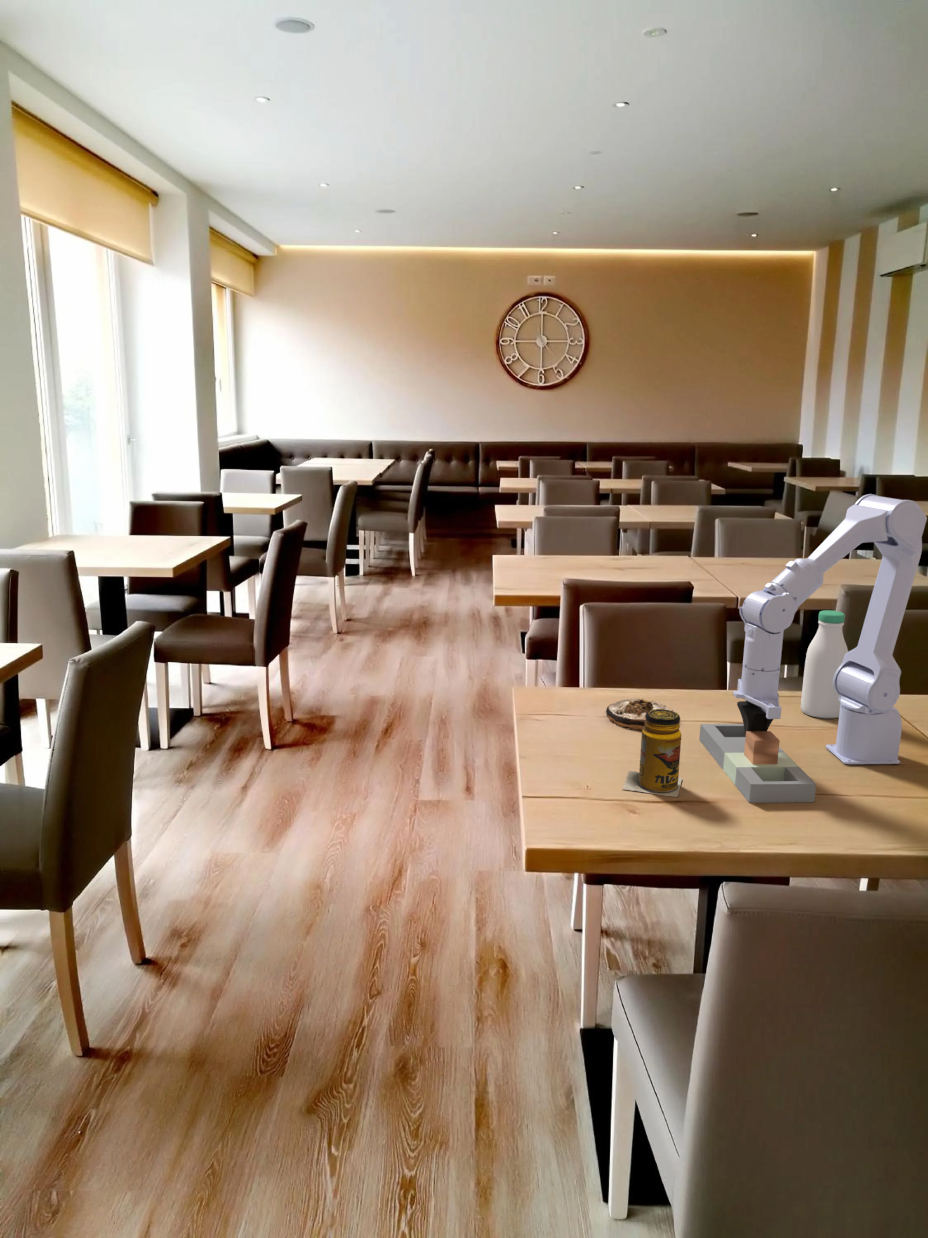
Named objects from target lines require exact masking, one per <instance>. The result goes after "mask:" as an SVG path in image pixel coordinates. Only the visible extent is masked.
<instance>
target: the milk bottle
mask: <svg viewBox="0 0 928 1238" xmlns="http://www.w3.org/2000/svg"><path fill="white" fill-rule="evenodd" d="M845 618H846V614H845V613H843V612H841V611H837V610H829V609H828V610H827V609H826V610H821V611H819V613H818V622H817V623H818V628H817V630H816V633H815V635H814V637H813V639H812V640H811V642H810V643H809V645H808V648H807V651H806V653H805V655H806V657H805V661H804V668H803V669H804V671H803V679H802V680H803V682H802V689H801V701H800V710H801V712H802V713H803V714H805V715H807V716H811V717H814V718H818V719H827V720H828V719H837V718H838V719H839V713H840V704H841V702H840V701H839V700H838V699H839V694H838V693H837V692H836V691H835V689H834V687H833V678H834V675H835V672H836V671H837V669H838V668H839V667H840V665H841V664H842V662H843V659H844V655H845V654H846V653H847V652H849V649H848V646H847V643H846V641H845V638H844V633H843V626H844V625H845Z"/></svg>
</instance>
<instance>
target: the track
mask: <svg viewBox="0 0 928 1238" xmlns="http://www.w3.org/2000/svg"><path fill="white" fill-rule="evenodd" d="M699 742H700V743H701V744H702V745H703V746H704V748H705V749H706V751H708V753H709V754H710V756H711V757H712V758H713V759H714V760H715V761H716V763H717V765H719V767H720V768H721V770H723V772H724V773H725V774H726V776H727V777H728V778H729V779H730V781H731V782H732V783H733V784H734V785H735V787H736V788H737V789H738V791H739V792H740V793H741V795H742V796H743V797H744V798H745V800H746V801H747V802H748V803H749V804H753V803H754V804H756V803H758V804H759V803H760V804H761V803H770V804H771V803H773V804H774V803H815V798H816V788H817V783H816V782H815V781H814V780H813V779H812V778H811V777H810V776H809V774H807V773H806V772H805V771H804V770H803V769H802V768H801V767H800V766H799V765H798V764H797V763H796V762H795V761H794V760H793V759H792V758H791V757H790V756H789V755H788V754H787V753H786V752H785V751H784V750H783V749H782V748H781V747H780V746H779V752H778V762H777V764H752V763H751V762H750V761H749V760H748V759H747V757H746V756H745V755H744V749H745V730H744V724H743V723H700V729H699Z"/></svg>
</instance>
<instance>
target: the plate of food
mask: <svg viewBox="0 0 928 1238" xmlns="http://www.w3.org/2000/svg"><path fill="white" fill-rule="evenodd" d="M654 709H666V710H671V711H673V712H674V710H673V709H671V708H669V707H667V706H666V705H665V704H663V703H660V702H657V701H654V700H651V701H650V700H646V699H644V698H634V699H632V698H630V699H628V698H627V699H623V700H620V701H615V702H612V703H611V704H609V705H608V706H607V707H606V709H605V713H606V715H607V717H608V719H609V720H610V722H612V721H614V722H613V724H614V723H615V724H616V726H617V725H619V726H618V727H620V726H622V727H621V728H624V729H627V728H629V729H630V730H636V731H642V730H643V728H644V727H645V720H646V718H645V715H646V713H647V712H648V711H650V710H654ZM615 724H614V725H615ZM629 729H628V730H629Z"/></svg>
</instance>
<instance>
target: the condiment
mask: <svg viewBox="0 0 928 1238" xmlns="http://www.w3.org/2000/svg"><path fill="white" fill-rule="evenodd" d="M666 709H667V708H666ZM666 709H654V710H650V711H648V712H647V713H646V715H645V718H646V720H645V727H644V728H643V730H641V740H640V755H639V756H640V757H639V768H638V769H639V771H636V770H634V771H632V770H628V773H627V776H626V779H625V781H624V784H623V786H622V790H626V791H630V792H631V791H632V792H634V791H635V792H640V793H641V792H642V793H648V794H652V795H659V796H666V797H667V796H668V797H673V798H674V797H679V794H680V793H679V792H680V790H681V784H682V779H683V778H682V777H679V775H680V774H679V773H680V762H681V761H680V759H681V743H682V732H681V730H680V727H681V726H680V723H681V721H680V720H681V717H680V715H679V713H678V712H676V711H674V710H673V711H671V710H672V709H670V710H666Z"/></svg>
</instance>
